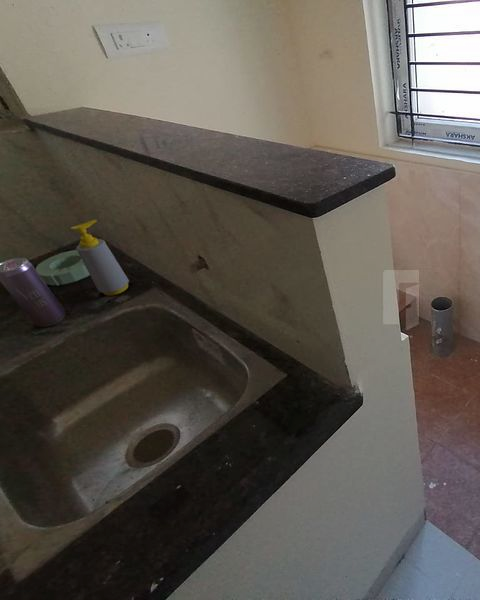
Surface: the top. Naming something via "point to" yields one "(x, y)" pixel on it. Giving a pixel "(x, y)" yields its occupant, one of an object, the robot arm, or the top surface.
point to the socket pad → (62, 268)
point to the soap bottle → (100, 262)
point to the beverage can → (30, 292)
